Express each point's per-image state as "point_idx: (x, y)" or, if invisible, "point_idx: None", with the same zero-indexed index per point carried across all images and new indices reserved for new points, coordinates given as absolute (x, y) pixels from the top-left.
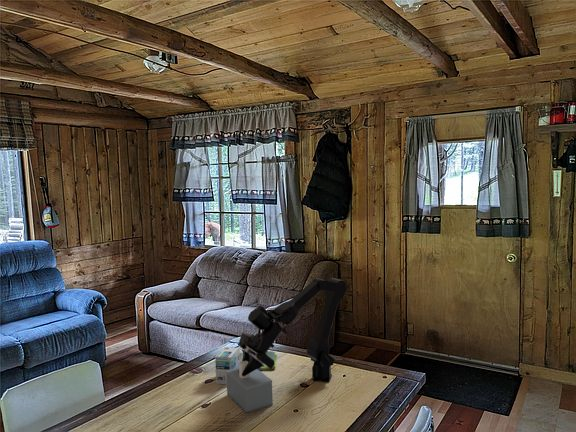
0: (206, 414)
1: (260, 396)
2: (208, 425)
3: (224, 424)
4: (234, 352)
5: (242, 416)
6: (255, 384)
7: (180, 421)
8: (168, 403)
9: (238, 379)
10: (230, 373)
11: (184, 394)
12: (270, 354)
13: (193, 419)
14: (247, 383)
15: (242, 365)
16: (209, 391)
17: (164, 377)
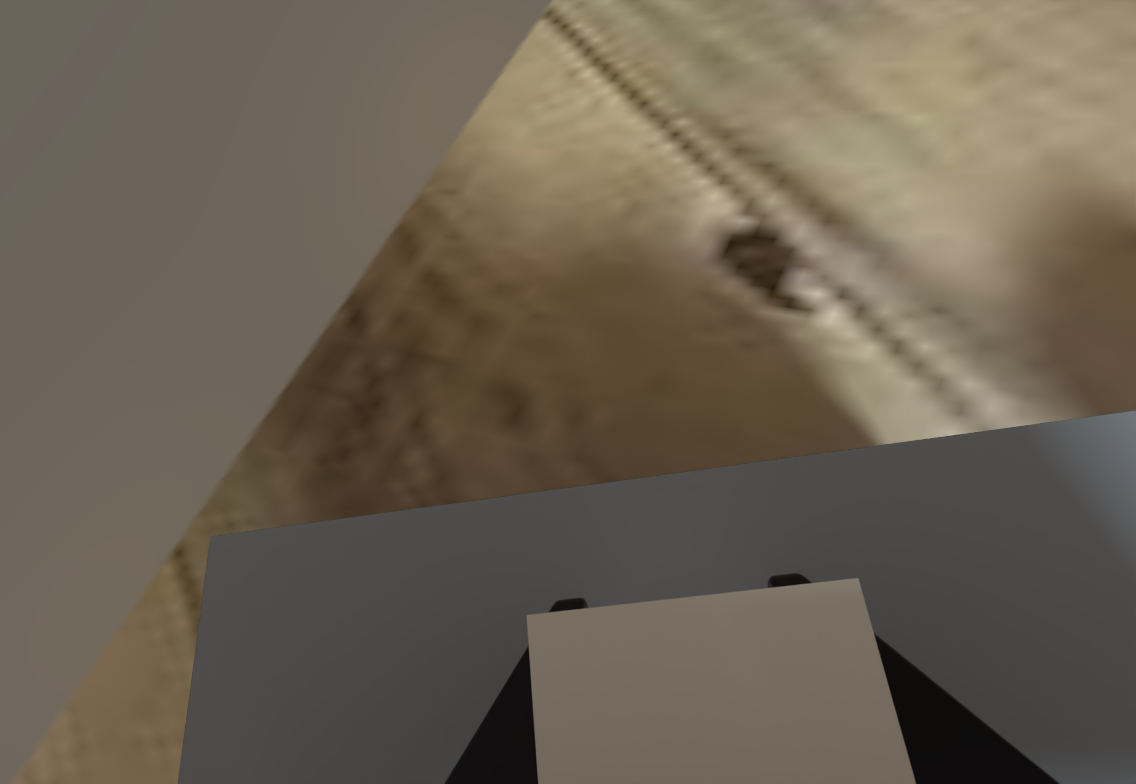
0: (585, 246)
1: None
2: (416, 237)
3: (361, 341)
4: None
5: None
6: (201, 777)
7: (573, 84)
8: (912, 15)
9: (603, 526)
10: (997, 458)
11: (1076, 120)
12: None
13: (557, 157)
14: (335, 632)
15: (542, 656)
16: (1094, 341)
17: None
